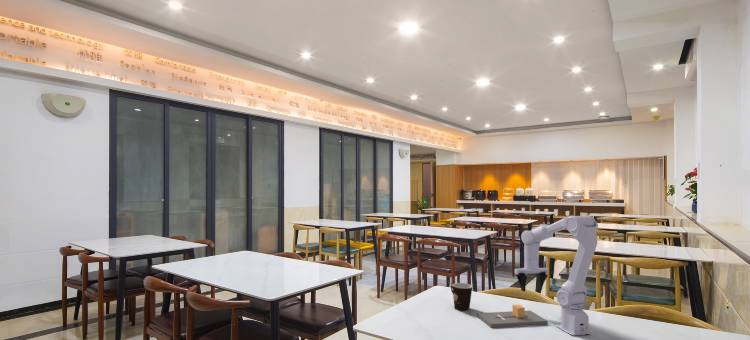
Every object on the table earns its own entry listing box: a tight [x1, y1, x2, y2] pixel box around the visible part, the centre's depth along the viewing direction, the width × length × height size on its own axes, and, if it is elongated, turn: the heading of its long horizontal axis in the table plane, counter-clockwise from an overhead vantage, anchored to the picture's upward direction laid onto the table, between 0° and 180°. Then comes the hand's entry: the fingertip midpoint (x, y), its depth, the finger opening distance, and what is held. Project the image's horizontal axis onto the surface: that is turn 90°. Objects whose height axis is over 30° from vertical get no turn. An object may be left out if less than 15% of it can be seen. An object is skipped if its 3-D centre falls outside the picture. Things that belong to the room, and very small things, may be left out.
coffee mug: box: [450, 282, 473, 312], centre depth 172 cm, size 12×9×10 cm
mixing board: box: [476, 310, 549, 329], centre depth 157 cm, size 12×24×2 cm, turn 100°
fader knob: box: [511, 304, 526, 318], centre depth 157 cm, size 4×3×4 cm
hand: (531, 290), depth 166 cm, fingers open, 7 cm apart
